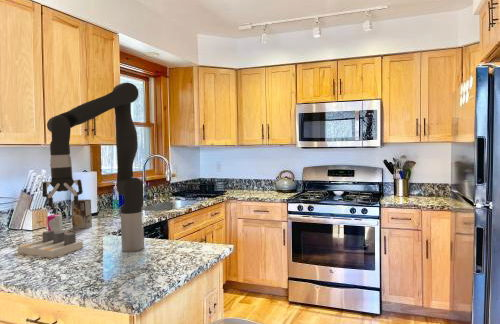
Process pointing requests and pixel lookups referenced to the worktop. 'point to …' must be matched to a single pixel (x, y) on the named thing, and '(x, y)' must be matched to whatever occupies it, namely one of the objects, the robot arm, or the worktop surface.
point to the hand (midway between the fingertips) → (63, 206)
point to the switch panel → (48, 248)
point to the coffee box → (81, 214)
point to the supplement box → (55, 223)
